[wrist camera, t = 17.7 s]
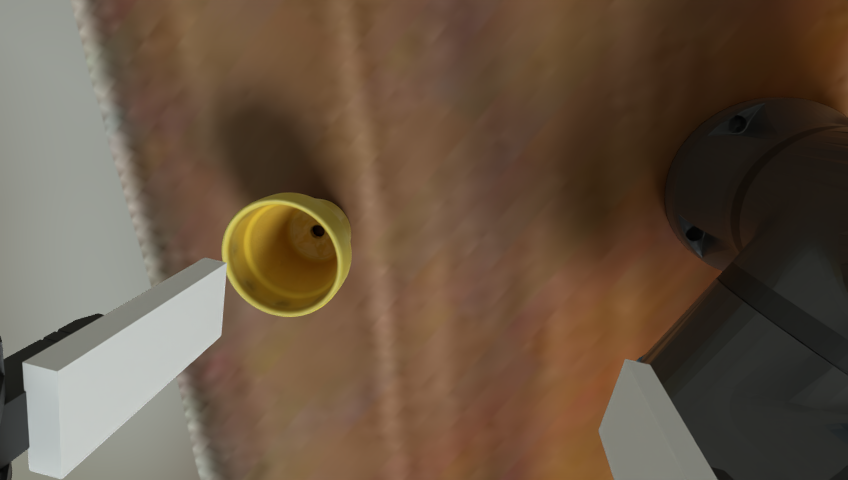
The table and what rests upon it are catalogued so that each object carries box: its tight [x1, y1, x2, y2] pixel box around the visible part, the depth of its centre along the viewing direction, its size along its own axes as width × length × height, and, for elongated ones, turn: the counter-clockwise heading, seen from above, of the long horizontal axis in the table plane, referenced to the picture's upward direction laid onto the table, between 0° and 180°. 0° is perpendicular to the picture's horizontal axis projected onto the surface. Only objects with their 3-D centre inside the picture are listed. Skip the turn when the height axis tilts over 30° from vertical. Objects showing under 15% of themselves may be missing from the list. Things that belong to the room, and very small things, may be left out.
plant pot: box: [222, 193, 352, 317], centre depth 45 cm, size 10×10×10 cm
